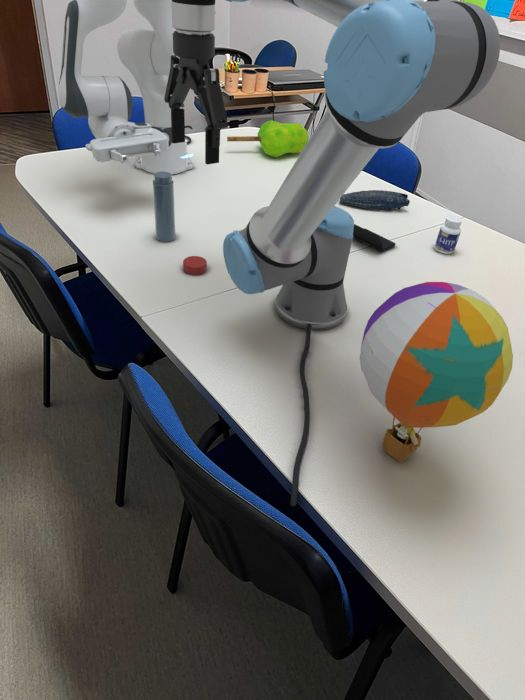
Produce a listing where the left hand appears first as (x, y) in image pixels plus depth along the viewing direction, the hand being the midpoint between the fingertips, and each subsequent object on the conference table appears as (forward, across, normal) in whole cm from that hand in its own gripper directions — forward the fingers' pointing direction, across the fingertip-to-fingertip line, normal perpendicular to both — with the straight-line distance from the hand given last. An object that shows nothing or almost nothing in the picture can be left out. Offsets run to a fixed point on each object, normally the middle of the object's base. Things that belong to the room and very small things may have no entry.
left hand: (141, 156), depth 132 cm
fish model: (+21, +65, +18) cm, 71 cm away
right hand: (+31, -1, -11) cm, 33 cm away
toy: (+96, 0, +15) cm, 97 cm away
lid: (+31, -2, +14) cm, 34 cm away
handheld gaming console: (+40, +46, +17) cm, 63 cm away
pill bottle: (+52, +63, +18) cm, 83 cm away
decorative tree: (-32, +62, +19) cm, 72 cm away
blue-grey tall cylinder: (+13, -1, +16) cm, 21 cm away
